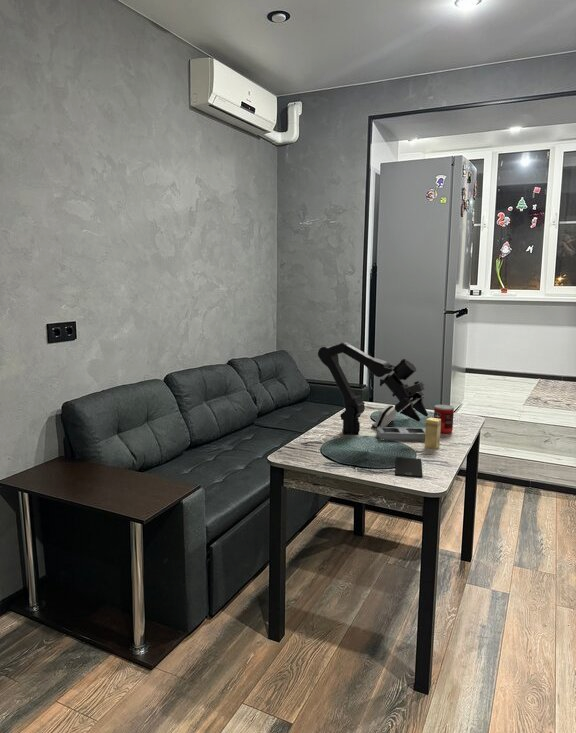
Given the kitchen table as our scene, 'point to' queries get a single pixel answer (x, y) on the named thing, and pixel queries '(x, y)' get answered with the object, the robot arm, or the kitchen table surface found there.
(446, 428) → the canned food
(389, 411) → the game console
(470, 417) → the kitchen table surface
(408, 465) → the cell phone
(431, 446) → the tan tall block
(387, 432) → the grey cinder block
